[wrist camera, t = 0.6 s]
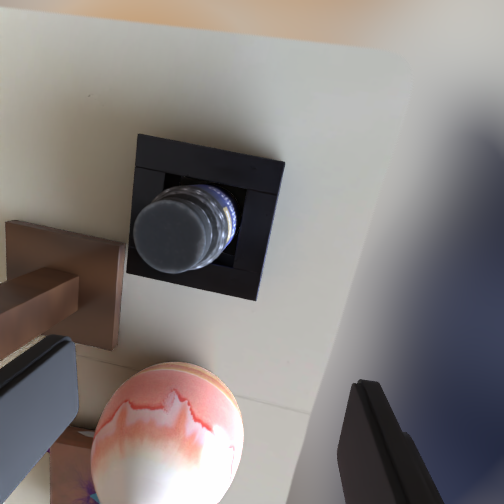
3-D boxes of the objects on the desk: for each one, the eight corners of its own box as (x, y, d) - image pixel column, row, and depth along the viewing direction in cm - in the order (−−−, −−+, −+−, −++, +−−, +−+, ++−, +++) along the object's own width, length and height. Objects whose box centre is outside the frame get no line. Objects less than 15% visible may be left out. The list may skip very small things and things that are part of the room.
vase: (246, 448, 35) (212, 700, 18) (135, 433, 36) (7, 658, 19) (252, 346, 32) (218, 540, 15) (129, 333, 33) (-32, 500, 16)
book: (37, 405, 38) (1, 436, 33) (227, 441, 36) (220, 480, 32) (39, 507, 41) (6, 549, 36) (214, 544, 40) (204, 593, 35)
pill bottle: (254, 226, 29) (237, 256, 18) (202, 257, 30) (159, 302, 19) (219, 170, 28) (180, 166, 17) (167, 204, 29) (101, 221, 18)
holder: (157, 139, 28) (137, 133, 24) (285, 164, 27) (285, 162, 23) (145, 260, 31) (125, 273, 27) (259, 285, 30) (256, 301, 26)
